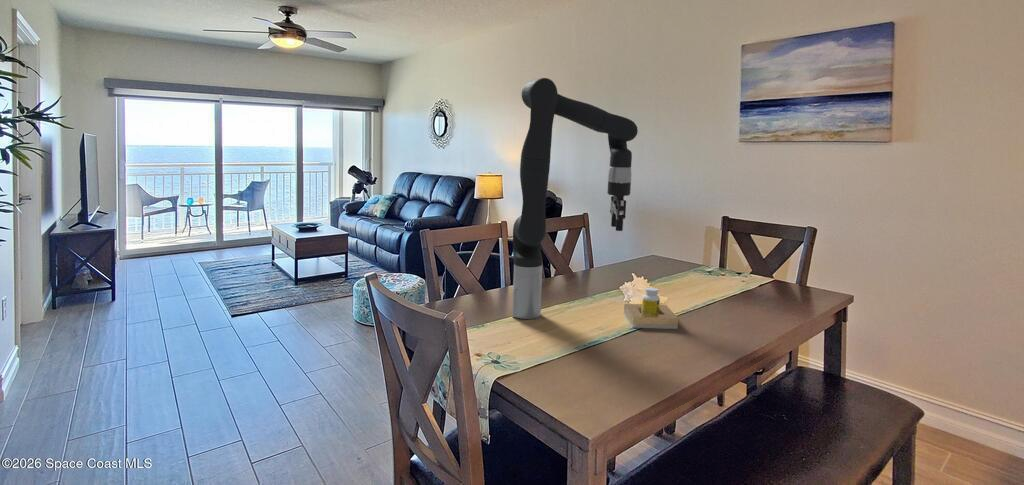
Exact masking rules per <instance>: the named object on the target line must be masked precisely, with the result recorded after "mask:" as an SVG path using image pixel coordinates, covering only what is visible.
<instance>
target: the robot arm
mask: <svg viewBox="0 0 1024 485" xmlns="http://www.w3.org/2000/svg"><path fill="white" fill-rule="evenodd" d="M521 100H522V101H523V104H524V105H525V106H526V107H527V108H528V109H530V113H529V114H530V115H529V116H530V117H529V118H530V119H529V120H530V121H529V125H528V126H529V127H528V131H527V133H526V136H525V139H524V142H523V145H522V149H521V154H520V166H519V179H520V189H521V195H522V206H521V215H520V216H518V217H517V218H516V220H515V221H514V224H513V228H512V255H513V282H512V286H513V287H512V290H513V291H512V318H516V319H517V318H518V319H521V320H522V319H524V320H534V319H538V318H540V317H541V314H542V313H541V311H542V308H541V307H542V285H543V284H542V283H543V281H542V280H543V279H542V278H543V254H542V251H541V242H542V241H543V240H544V238H545V236H546V233H547V224H546V223H547V222H546V218H547V217H546V214H547V213H546V204H547V203H546V202H547V194H548V185H549V176H550V167H551V151H552V140H553V137H552V136H553V126H554V125H553V124H554V119H555V115H556V116H559V117H561V118H564V119H566V120H569V121H571V122H574V123H576V124H577V125H580V126H583V127H585V128H587V129H590V130H592V131H594V132H597V133H600V134H601V133H602V134H607V142H608V148H609V153H610V158H609V169H608V176H607V195H608V196H609V195H610V196H611V197H610V210H609V212H610V216H611V222H610V226H611V227H612V228H615V231H616V232H623V230H624V229H623V228H624V220H625V219H626V212H627V200H625V196H626V197H627V196H630V195H631V190H632V189H631V186H632V162H633V160H632V159H633V156H632V155H633V153H632V151H631V150H630V149H629V148H628V144H627V142H631V141H633V140H634V139H635V138H636V137H637V135H638V132H639V129H638V126H637V124H636V123H635V121H633V120H632V119H629V118H627V117H624V116H621V115H618V114H614V113H611V112H608V111H606V110H604V109H602V108H600V107H597V106H595V105H593V104H589V103H587V102H583V101H580V100H576V99H572V98H570V97H566V96H564V95H561V94H559V93H558V88H557V86H556V84H555V82H554V81H553V80H552V79H550V78H547V77H541V78H537V79H532V80H530V81H529V82H526V84H525V85H524V86H523V88H522V90H521Z"/></svg>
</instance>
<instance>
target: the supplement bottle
mask: <svg viewBox="0 0 1024 485" xmlns="http://www.w3.org/2000/svg"><path fill="white" fill-rule="evenodd" d="M644 293H645V294H643V295H642V303H641V304H642V311H641V314H658V313H659V305H660V299H661V298H660V296H659V295H658V294H659V289H658V288H656V287H646V288H645V291H644Z"/></svg>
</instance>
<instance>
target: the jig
mask: <svg viewBox="0 0 1024 485" xmlns="http://www.w3.org/2000/svg"><path fill="white" fill-rule="evenodd" d="M623 305H624V306H623V315H624V316H625V318H626V319H627V321H628V323H629V325H630V326H631V327H632V328H633V329H658V330H659V329H664V330H670V329H671V330H678V326H679V317H678V316H677V315H676V314H675V313H674V311H672V310H671V308H669V306H668V305H667V304H659V313H658V314H641V311H642V303H641V304H640V303H624V304H623Z"/></svg>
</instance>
